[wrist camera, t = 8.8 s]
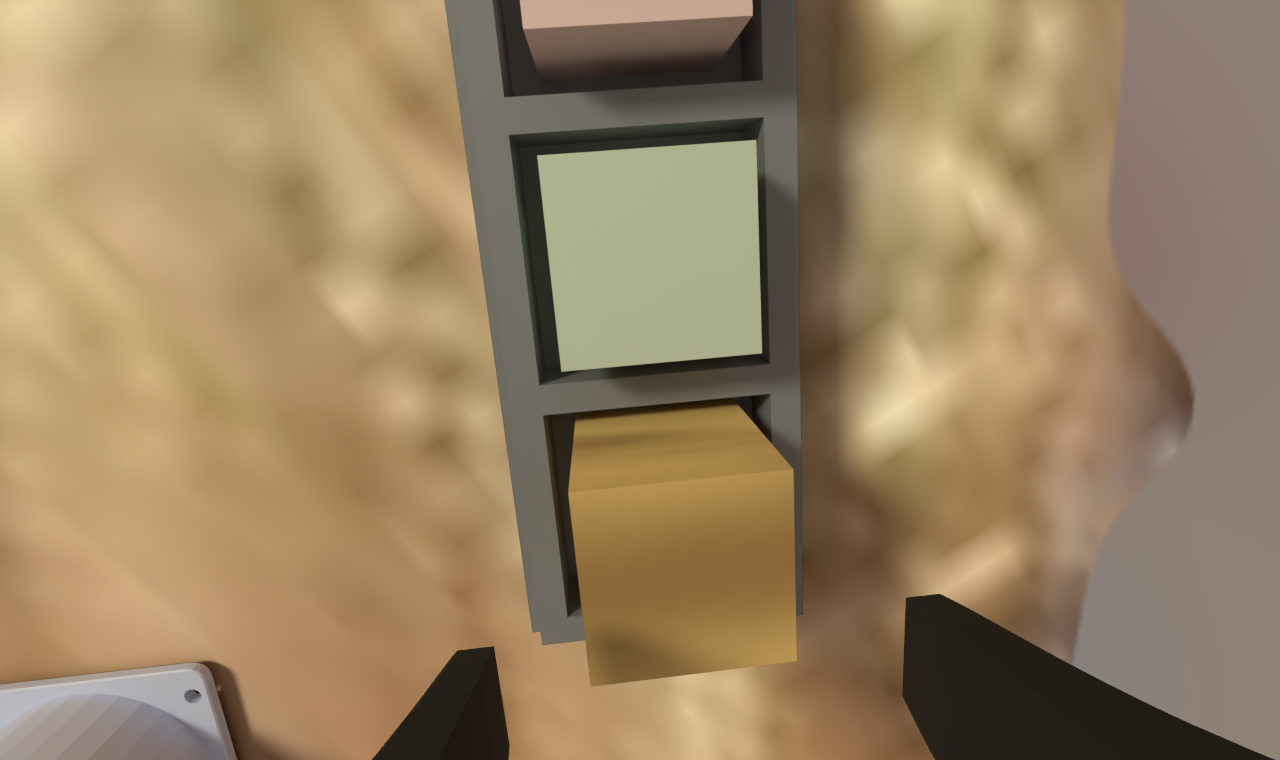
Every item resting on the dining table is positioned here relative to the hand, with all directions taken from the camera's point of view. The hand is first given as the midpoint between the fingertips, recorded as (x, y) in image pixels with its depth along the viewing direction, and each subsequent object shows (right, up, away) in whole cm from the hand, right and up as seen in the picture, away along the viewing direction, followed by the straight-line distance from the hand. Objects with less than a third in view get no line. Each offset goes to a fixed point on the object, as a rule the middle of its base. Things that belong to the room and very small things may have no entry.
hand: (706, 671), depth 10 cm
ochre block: (-1, +2, +8) cm, 8 cm away
